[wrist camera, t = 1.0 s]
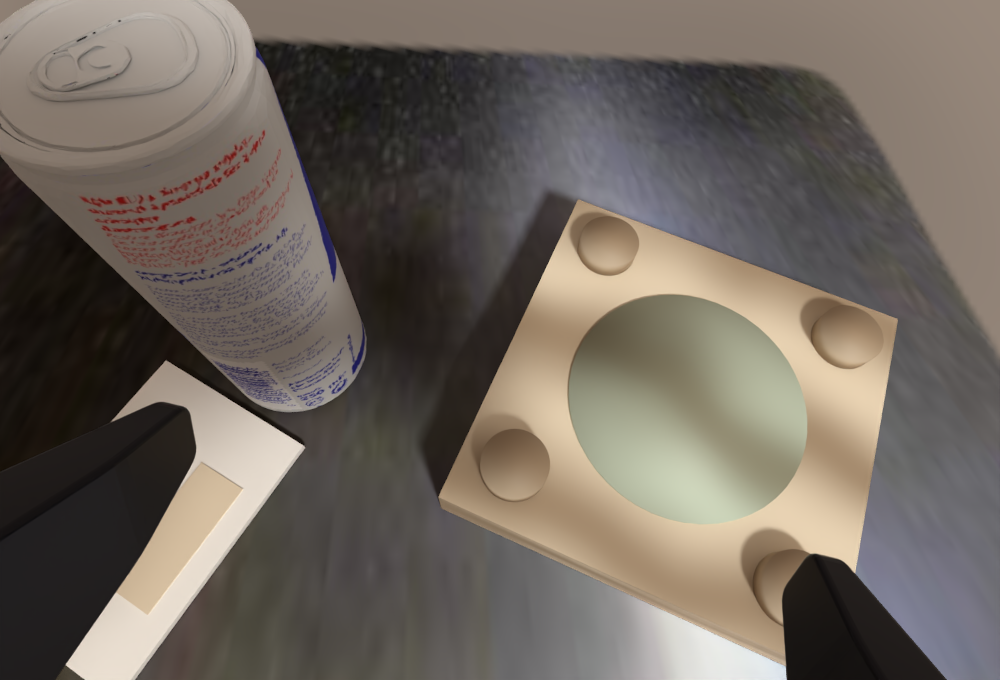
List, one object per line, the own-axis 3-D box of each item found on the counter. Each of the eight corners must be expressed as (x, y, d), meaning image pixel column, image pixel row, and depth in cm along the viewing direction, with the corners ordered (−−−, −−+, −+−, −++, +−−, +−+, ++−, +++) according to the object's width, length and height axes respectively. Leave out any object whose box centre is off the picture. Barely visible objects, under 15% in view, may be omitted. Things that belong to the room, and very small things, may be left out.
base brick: (798, 671, 21) (851, 681, 18) (441, 508, 23) (436, 493, 20) (861, 344, 27) (910, 310, 24) (569, 232, 29) (581, 187, 26)
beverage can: (393, 328, 26) (309, 19, 13) (319, 439, 24) (122, 213, 10) (285, 274, 27) (98, -69, 13) (205, 377, 25) (-115, 94, 11)
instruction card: (119, 700, 20) (113, 702, 20) (-30, 587, 21) (-39, 586, 21) (305, 447, 24) (302, 445, 24) (169, 363, 25) (165, 359, 25)
